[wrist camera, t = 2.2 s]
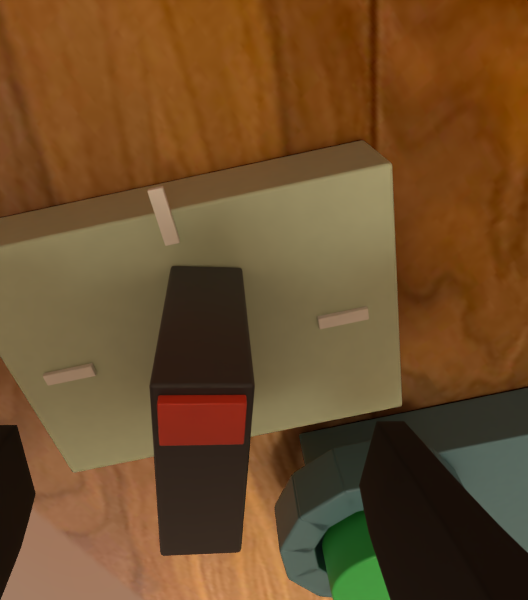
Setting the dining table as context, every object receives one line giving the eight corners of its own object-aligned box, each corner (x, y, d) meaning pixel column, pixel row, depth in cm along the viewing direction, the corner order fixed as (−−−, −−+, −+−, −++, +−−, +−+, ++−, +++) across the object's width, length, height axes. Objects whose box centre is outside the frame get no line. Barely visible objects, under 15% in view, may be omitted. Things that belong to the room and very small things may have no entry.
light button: (327, 575, 18) (338, 626, 16) (314, 514, 16) (325, 565, 14) (431, 555, 18) (450, 605, 16) (431, 491, 16) (454, 540, 14)
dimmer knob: (234, 411, 14) (241, 564, 10) (175, 411, 14) (159, 568, 10) (242, 266, 12) (256, 394, 8) (170, 264, 12) (146, 395, 8)
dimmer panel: (96, 429, 18) (78, 489, 15) (-29, 200, 13) (-80, 239, 11) (380, 371, 17) (405, 423, 15) (362, 116, 13) (394, 137, 10)
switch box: (304, 590, 25) (318, 680, 22) (256, 415, 18) (265, 507, 15) (626, 527, 25) (692, 609, 21) (704, 323, 18) (822, 396, 14)
